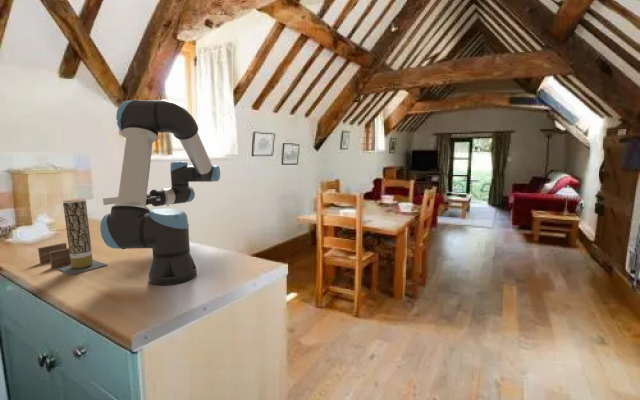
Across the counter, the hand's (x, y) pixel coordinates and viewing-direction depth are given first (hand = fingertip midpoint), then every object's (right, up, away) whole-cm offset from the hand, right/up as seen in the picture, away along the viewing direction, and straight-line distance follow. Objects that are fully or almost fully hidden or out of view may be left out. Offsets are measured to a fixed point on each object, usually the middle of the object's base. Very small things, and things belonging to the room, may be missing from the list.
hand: (112, 202), depth 138 cm
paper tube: (-7, -24, -8) cm, 26 cm away
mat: (-7, -24, -8) cm, 26 cm away
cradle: (-19, -23, -2) cm, 30 cm away
